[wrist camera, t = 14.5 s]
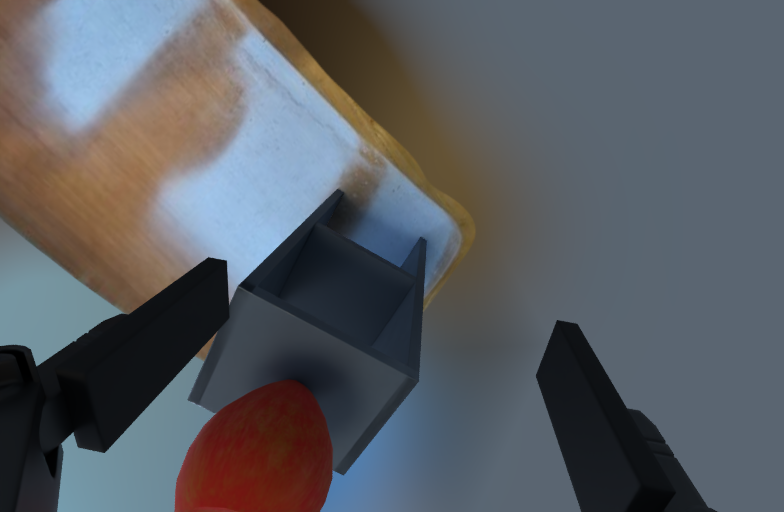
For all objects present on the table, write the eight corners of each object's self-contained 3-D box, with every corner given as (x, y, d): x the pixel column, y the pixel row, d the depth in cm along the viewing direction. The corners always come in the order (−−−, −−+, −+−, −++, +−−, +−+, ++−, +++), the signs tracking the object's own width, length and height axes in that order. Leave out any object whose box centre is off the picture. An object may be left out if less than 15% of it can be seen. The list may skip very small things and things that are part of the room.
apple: (344, 444, 30) (300, 619, 20) (240, 421, 30) (144, 583, 20) (360, 358, 26) (315, 519, 16) (241, 333, 26) (127, 476, 17)
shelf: (337, 188, 51) (237, 285, 25) (426, 240, 52) (419, 381, 27) (301, 258, 55) (186, 400, 30) (384, 303, 57) (343, 475, 31)
